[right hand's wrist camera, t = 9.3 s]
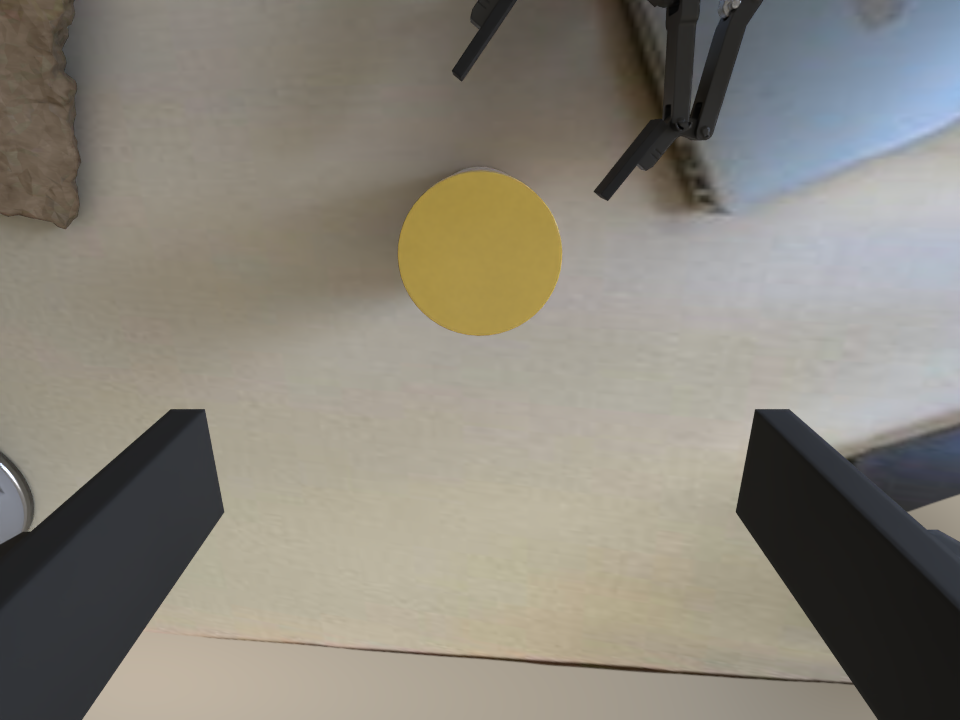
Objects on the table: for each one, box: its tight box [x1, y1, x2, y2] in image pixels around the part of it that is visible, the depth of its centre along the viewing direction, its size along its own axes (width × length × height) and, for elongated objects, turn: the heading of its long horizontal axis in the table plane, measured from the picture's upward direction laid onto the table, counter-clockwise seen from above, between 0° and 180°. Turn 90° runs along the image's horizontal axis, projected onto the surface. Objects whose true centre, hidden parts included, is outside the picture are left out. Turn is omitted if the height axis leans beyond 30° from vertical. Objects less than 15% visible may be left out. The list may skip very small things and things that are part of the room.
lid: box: [398, 170, 562, 336], centre depth 37 cm, size 10×10×2 cm
